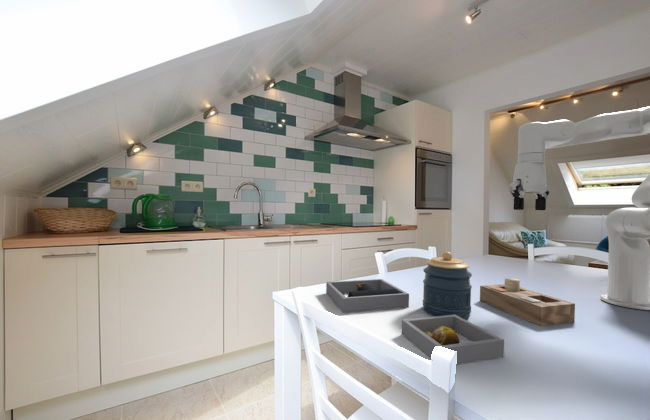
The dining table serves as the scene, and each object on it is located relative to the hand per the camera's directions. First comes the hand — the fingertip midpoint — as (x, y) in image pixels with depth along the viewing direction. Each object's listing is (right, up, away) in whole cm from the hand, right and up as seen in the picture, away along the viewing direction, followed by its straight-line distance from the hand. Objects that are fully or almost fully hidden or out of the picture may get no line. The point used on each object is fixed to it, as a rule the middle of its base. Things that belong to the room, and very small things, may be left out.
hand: (529, 210), depth 96 cm
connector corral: (-57, -29, -5) cm, 64 cm away
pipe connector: (-56, -30, -7) cm, 64 cm away
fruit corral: (-43, -30, -34) cm, 62 cm away
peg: (-11, -30, -7) cm, 33 cm away
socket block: (-11, -30, -12) cm, 34 cm away
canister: (-35, -30, -14) cm, 48 cm away
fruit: (-45, -30, -33) cm, 64 cm away
